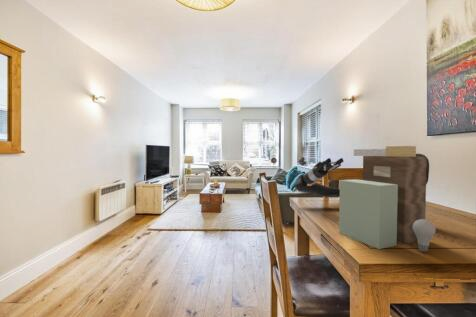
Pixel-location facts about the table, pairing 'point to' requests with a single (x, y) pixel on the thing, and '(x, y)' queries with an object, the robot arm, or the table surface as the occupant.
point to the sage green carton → (369, 212)
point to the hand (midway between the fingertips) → (336, 159)
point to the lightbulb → (423, 233)
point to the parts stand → (401, 188)
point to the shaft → (388, 151)
